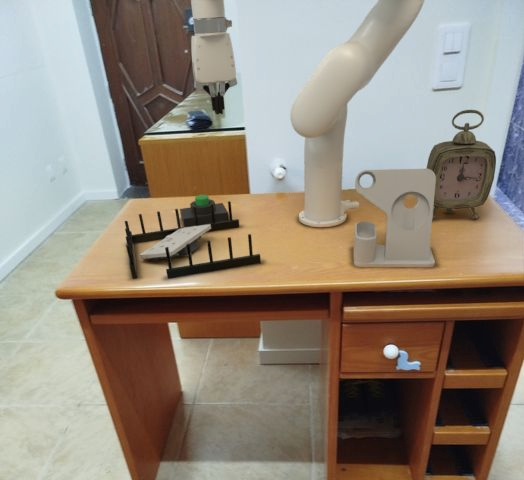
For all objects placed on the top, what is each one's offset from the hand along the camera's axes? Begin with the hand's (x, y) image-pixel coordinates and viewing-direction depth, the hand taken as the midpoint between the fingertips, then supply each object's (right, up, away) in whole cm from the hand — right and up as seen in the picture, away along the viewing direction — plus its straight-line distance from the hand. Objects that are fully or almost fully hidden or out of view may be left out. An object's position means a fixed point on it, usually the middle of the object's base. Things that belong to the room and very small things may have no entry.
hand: (218, 113), depth 123 cm
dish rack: (-6, -37, -8) cm, 39 cm away
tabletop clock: (+60, -26, +1) cm, 65 cm away
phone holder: (+40, -40, -16) cm, 59 cm away
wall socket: (-10, -37, -7) cm, 39 cm away
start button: (-5, -22, +5) cm, 23 cm away
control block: (-5, -26, +8) cm, 27 cm away
